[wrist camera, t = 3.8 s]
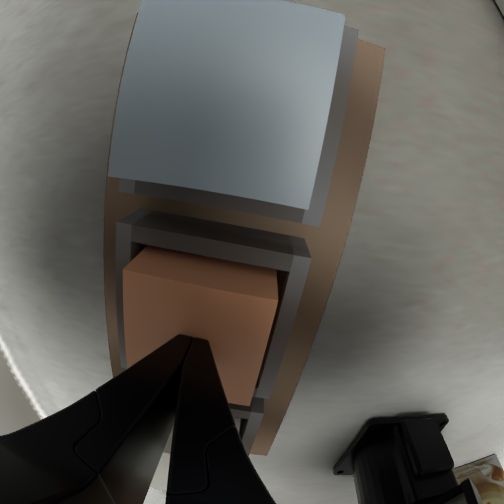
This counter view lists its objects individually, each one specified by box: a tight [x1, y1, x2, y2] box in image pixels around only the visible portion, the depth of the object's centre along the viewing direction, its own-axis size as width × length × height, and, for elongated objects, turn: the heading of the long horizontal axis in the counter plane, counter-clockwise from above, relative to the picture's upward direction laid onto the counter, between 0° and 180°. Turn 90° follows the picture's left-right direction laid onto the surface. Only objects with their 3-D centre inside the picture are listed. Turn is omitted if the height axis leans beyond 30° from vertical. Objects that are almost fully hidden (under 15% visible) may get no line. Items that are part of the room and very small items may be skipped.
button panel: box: [104, 13, 385, 456], centre depth 11 cm, size 20×8×3 cm, turn 170°
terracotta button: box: [123, 245, 278, 406], centre depth 9 cm, size 4×4×3 cm
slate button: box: [108, 0, 345, 210], centre depth 6 cm, size 4×4×3 cm
